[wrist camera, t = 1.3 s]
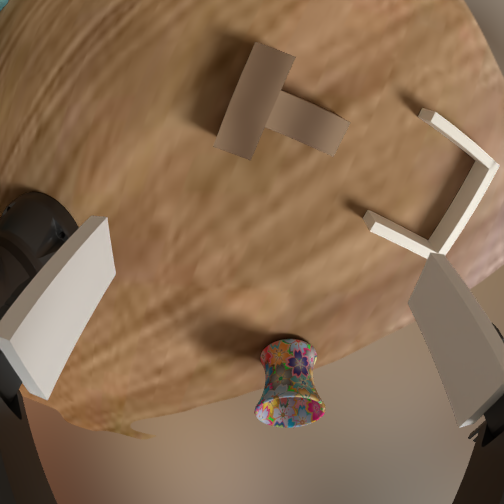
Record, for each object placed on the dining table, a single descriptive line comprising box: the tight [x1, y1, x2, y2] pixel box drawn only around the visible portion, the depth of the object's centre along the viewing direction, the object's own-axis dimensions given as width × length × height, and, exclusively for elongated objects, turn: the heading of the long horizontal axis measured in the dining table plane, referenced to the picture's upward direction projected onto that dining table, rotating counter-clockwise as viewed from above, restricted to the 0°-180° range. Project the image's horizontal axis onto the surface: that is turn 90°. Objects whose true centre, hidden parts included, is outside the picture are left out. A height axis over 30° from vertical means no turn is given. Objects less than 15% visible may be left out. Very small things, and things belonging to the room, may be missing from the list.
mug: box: [255, 339, 325, 427], centre depth 42 cm, size 12×9×11 cm
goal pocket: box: [363, 108, 500, 259], centre depth 29 cm, size 11×14×3 cm
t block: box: [213, 42, 350, 160], centre depth 26 cm, size 10×10×4 cm
